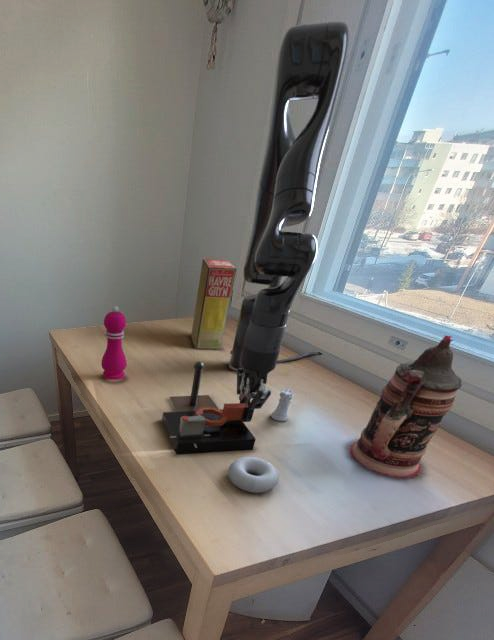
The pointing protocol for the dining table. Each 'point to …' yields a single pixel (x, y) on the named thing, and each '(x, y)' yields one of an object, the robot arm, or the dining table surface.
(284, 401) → the rook chess piece
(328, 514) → the dining table surface
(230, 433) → the stove
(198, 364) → the peg stand
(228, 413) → the hanging ring
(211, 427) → the burner
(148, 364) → the dining table surface
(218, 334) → the food packaging
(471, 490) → the dining table surface
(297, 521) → the dining table surface
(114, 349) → the pepper mill
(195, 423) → the knob
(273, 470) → the donut
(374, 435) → the beer stein
